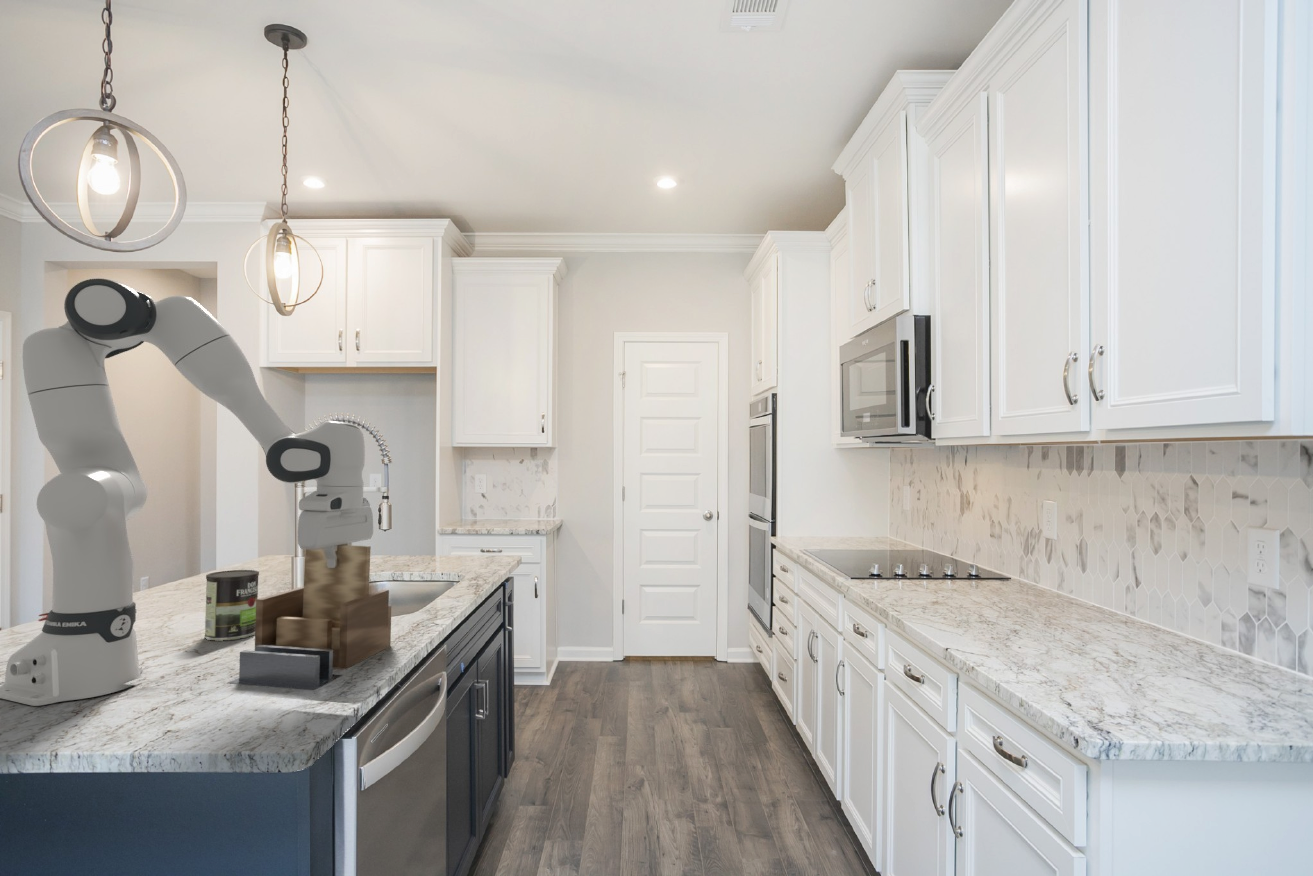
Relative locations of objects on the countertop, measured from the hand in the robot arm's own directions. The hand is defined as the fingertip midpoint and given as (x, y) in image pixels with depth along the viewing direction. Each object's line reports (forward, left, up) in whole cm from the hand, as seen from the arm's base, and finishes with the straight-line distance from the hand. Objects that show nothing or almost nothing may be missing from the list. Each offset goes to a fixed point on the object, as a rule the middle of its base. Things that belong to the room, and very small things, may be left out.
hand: (337, 566), depth 140 cm
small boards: (0, -6, -17) cm, 18 cm away
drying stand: (+3, -18, -19) cm, 26 cm away
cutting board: (0, 0, -12) cm, 12 cm away
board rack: (0, -3, -19) cm, 19 cm away
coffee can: (-33, +10, -19) cm, 39 cm away
